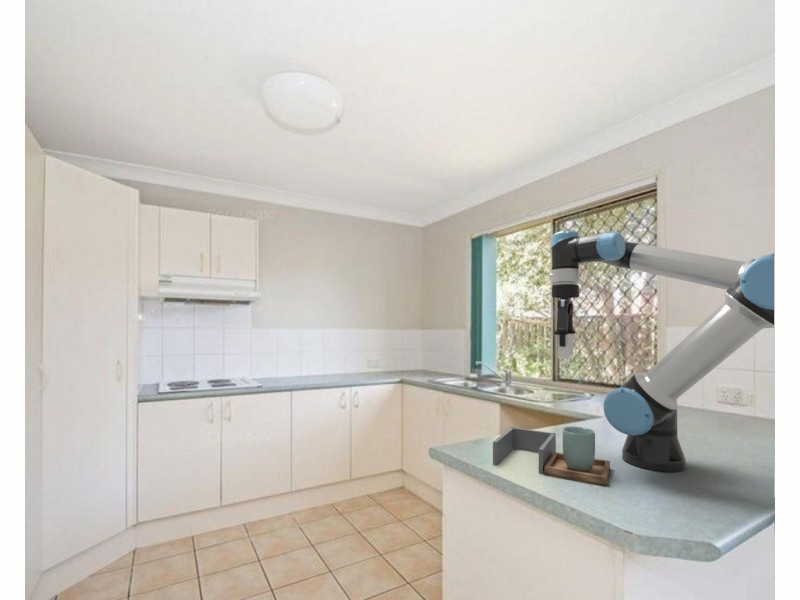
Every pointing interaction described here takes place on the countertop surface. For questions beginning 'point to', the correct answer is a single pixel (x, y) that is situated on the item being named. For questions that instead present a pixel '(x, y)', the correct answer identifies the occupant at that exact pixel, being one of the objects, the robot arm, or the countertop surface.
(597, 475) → the tray
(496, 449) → the bay
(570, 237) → the robot arm
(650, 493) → the countertop surface
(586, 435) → the cup
